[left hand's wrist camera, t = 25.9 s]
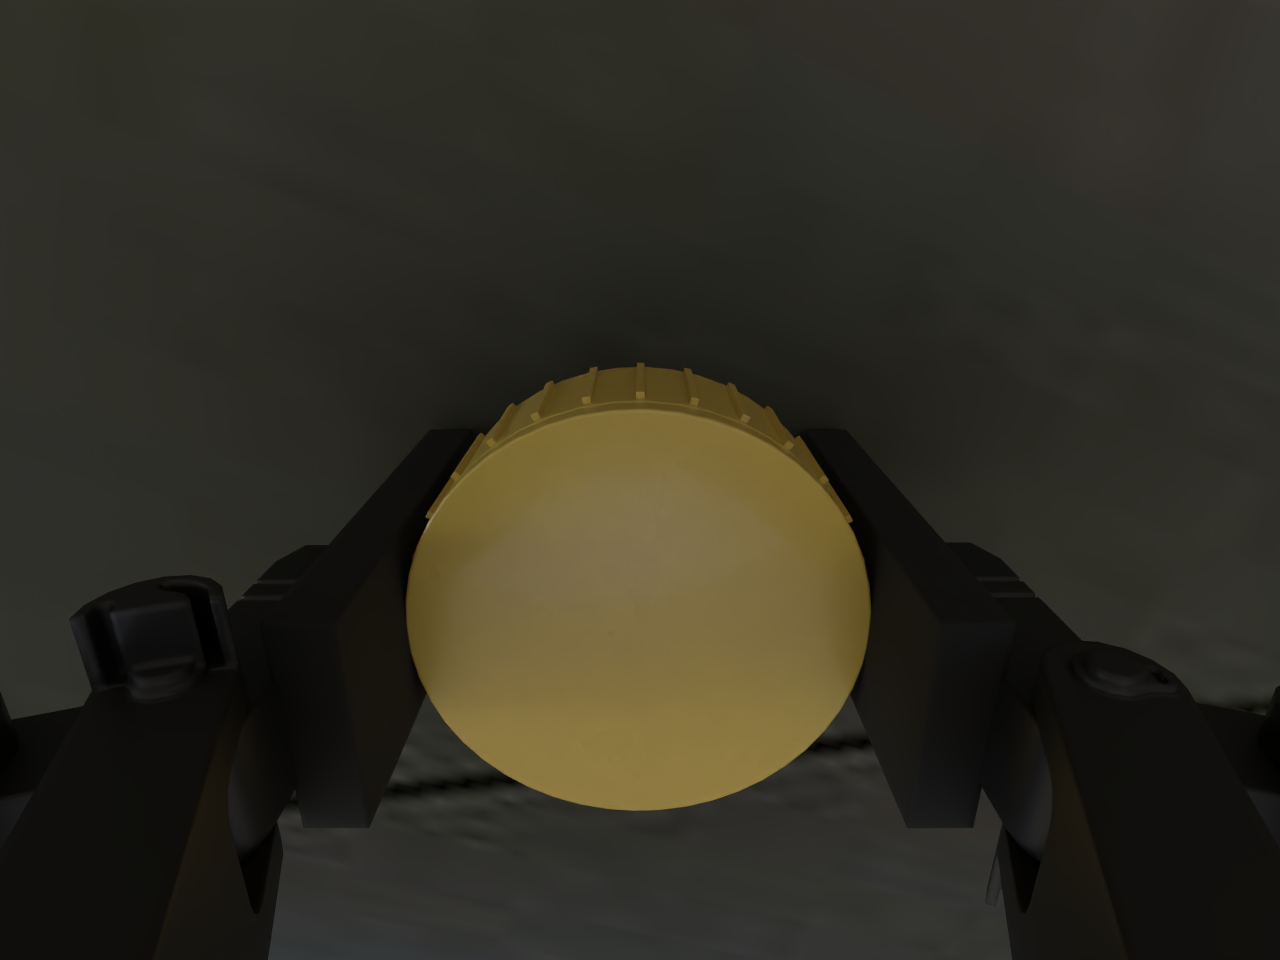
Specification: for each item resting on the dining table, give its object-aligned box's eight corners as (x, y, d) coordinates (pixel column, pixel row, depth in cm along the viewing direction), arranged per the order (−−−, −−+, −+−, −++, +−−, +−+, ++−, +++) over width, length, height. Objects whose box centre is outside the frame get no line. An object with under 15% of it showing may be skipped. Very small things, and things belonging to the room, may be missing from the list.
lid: (695, 766, 14) (705, 874, 11) (378, 610, 12) (323, 698, 10) (916, 495, 12) (978, 564, 9) (564, 277, 10) (544, 300, 8)
